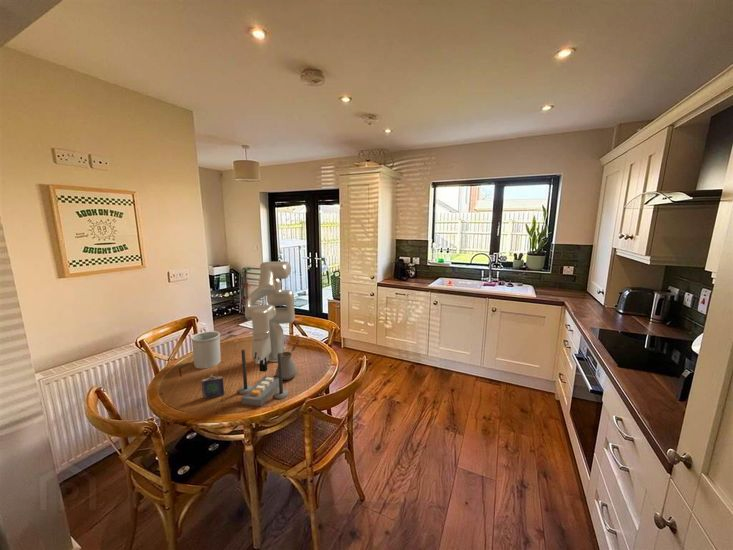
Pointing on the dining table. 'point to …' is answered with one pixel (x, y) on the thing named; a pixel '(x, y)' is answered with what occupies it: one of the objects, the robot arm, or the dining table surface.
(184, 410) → the dining table surface
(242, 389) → the post
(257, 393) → the breaker strip
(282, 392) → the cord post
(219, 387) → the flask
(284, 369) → the coffee pot
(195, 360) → the utensil holder
